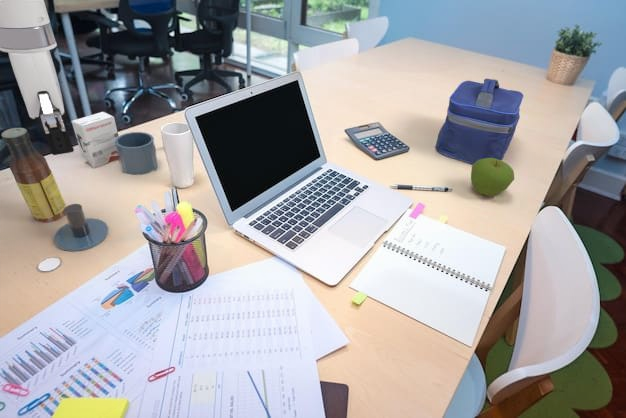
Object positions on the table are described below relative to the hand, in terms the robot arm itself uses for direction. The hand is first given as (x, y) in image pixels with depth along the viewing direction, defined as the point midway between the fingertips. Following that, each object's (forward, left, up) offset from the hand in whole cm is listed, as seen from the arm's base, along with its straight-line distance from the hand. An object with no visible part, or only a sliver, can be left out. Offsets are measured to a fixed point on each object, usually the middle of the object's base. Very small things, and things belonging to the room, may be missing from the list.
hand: (60, 140), depth 68 cm
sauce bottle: (-6, +9, -21) cm, 24 cm away
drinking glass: (+23, +9, -21) cm, 33 cm away
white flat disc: (-8, -7, -21) cm, 24 cm away
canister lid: (-2, -1, -20) cm, 20 cm away
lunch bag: (+113, -12, -21) cm, 116 cm away
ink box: (+9, +29, -21) cm, 37 cm away
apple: (+92, -32, -21) cm, 100 cm away
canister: (+16, +21, -21) cm, 34 cm away
